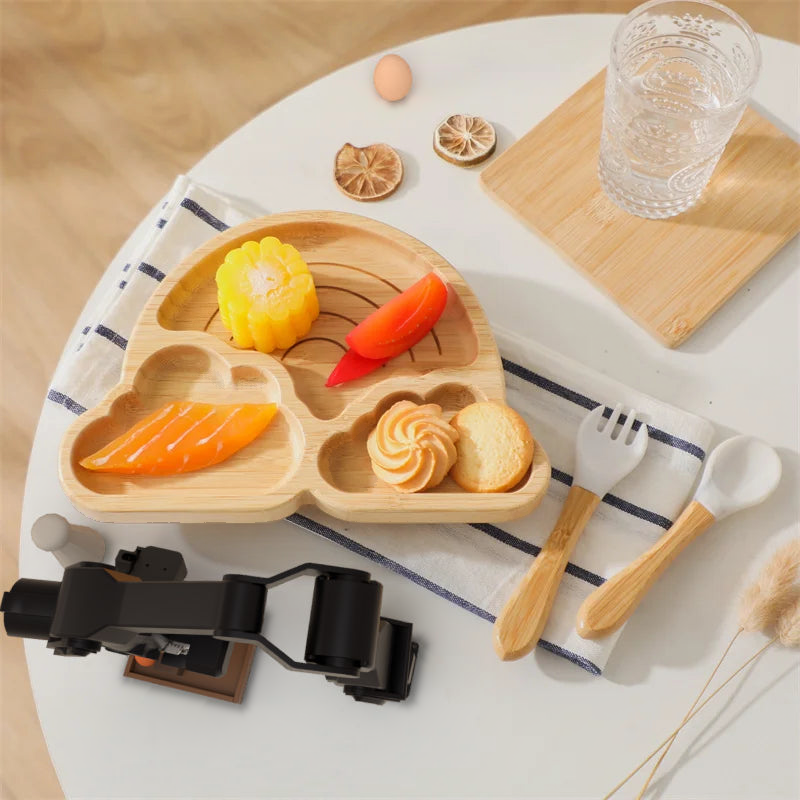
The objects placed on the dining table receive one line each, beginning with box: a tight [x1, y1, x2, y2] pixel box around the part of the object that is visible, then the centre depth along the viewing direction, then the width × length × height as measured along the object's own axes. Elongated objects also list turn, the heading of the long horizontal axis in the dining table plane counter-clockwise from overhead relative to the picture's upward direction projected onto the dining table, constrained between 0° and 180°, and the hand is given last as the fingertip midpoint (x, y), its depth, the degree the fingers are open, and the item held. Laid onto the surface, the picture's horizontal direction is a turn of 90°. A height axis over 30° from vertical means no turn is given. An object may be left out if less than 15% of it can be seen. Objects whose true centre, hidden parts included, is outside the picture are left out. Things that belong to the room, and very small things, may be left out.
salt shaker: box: [30, 513, 106, 570], centre depth 109 cm, size 6×6×13 cm
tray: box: [122, 619, 265, 705], centre depth 109 cm, size 14×10×2 cm
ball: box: [135, 656, 155, 666], centre depth 108 cm, size 3×3×3 cm
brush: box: [153, 651, 184, 676], centre depth 106 cm, size 3×7×7 cm, turn 167°
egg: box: [372, 53, 413, 102], centre depth 135 cm, size 6×6×8 cm
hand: (171, 639), depth 106 cm, fingers closed on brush, 2 cm apart
